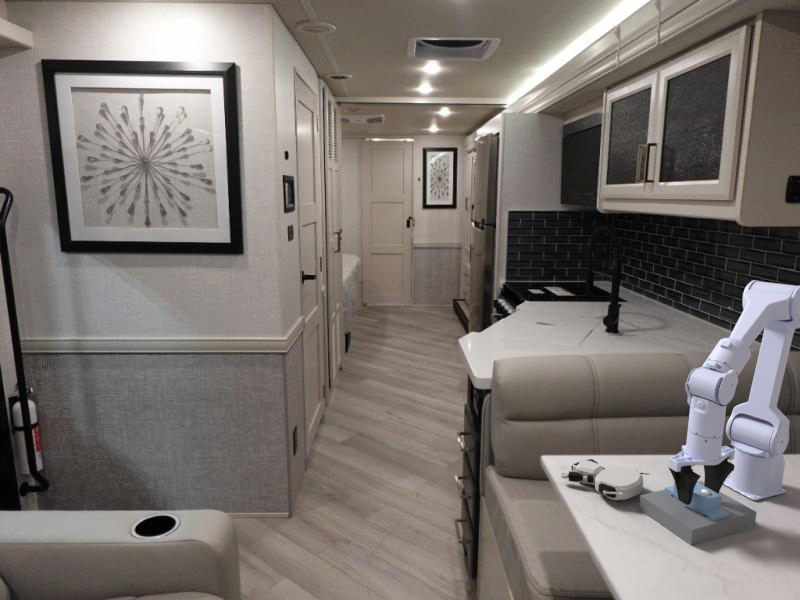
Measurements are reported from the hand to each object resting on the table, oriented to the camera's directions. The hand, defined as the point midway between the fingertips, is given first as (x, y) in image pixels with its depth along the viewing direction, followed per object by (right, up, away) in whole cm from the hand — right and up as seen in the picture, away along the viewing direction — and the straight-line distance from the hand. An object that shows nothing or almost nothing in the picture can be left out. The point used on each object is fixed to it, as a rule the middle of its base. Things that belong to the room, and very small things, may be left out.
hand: (697, 498), depth 103 cm
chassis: (0, -4, +1) cm, 4 cm away
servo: (0, -3, +1) cm, 4 cm away
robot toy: (-14, -2, +12) cm, 18 cm away
